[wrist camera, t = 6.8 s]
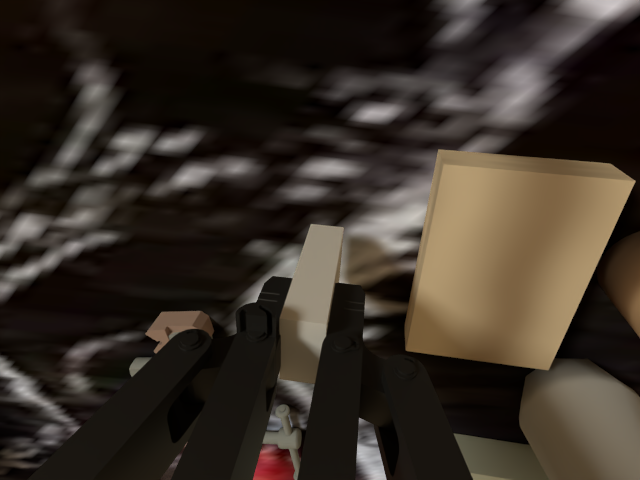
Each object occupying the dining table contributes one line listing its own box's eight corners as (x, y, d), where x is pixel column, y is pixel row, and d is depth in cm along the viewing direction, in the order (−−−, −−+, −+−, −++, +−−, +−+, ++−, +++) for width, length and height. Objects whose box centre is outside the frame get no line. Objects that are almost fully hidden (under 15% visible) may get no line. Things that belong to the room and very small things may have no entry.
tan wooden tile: (404, 320, 23) (405, 350, 21) (437, 146, 18) (443, 164, 16) (533, 336, 22) (548, 370, 20) (605, 160, 17) (635, 181, 15)
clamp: (99, 332, 24) (261, 329, 22) (120, 308, 26) (271, 303, 24) (179, 484, 31) (307, 491, 29) (191, 456, 33) (312, 462, 31)
